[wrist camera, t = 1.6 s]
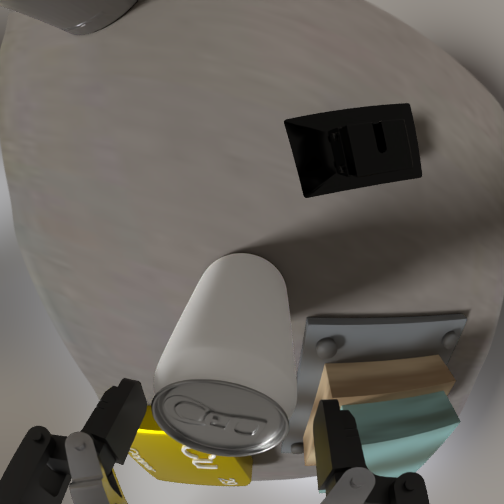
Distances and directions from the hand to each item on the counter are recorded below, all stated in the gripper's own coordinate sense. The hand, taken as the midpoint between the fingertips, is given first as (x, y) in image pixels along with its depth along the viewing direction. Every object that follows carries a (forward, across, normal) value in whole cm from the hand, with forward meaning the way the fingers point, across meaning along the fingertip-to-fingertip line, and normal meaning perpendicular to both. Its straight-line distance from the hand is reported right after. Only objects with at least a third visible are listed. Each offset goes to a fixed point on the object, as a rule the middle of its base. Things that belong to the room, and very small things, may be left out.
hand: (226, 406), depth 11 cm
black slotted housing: (+11, -7, -11) cm, 18 cm away
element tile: (+12, +7, +22) cm, 26 cm away
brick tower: (+11, -13, +12) cm, 20 cm away
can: (+11, 0, 0) cm, 11 cm away
